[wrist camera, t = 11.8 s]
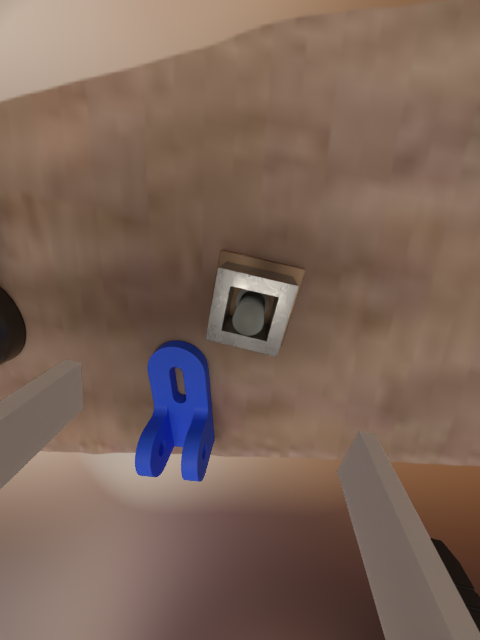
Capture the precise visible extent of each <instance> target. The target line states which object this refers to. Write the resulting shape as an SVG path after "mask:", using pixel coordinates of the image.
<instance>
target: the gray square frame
mask: <svg viewBox="0 0 480 640" xmlns="http://www.w3.org/2000/svg"><path fill="white" fill-rule="evenodd" d="M234 287H237V288H242V289H246V290H250V291H254V292H258V293H263V294H267V295H271V296H275V297H274V301H273V305H272V308H271V312H270V316H269V319H268V323H267V324H263V327H262V329H261V330H260V331H259V332H258V333H257V334H255V335H251V336H246V335H242V334H240V333H239V332H238V331H237V330H236V329H235V328H234V326H233V316H231V315H229V311H230V306H231V301H232V297H233V292H234ZM297 290H298V284H297V282H296V281H295V279H294V277H292V276H288V275H283V274H279V273H275V272H271V271H266V270H262V269H258V268H253V267H249V266H245V265H241V264H236V263H232V262H228V261H226V262H225V263H224V264H222V265H221V266H220V267H218V271H217V277H216V283H215V289H214V294H213V300H212V306H211V311H210V317H209V323H208V329H207V334H206V340H210V341H214V342H218V343H222V344H226V345H231V346H235V347H239V348H243V349H247V350H251V351H255V352H259V353H263V354H267V355H271V356H275V357H277V354H278V351H279V348H280V344H281V341H282V338H283V335H284V332H285V328H286V325H287V322H288V319H289V315H290V312H291V309H292V306H293V302H294V299H295V296H296V293H297Z"/></svg>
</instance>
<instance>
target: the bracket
mask: <svg viewBox="0 0 480 640" xmlns="http://www.w3.org/2000/svg"><path fill="white" fill-rule="evenodd" d="M174 367H178V368H180V369H181V370H182V371H183V376H184V383H185V391H186V395H182V394H180V393H179V392H178V389H177V383H176V376H175V369H174ZM148 374H149V379H150V384H151V390H152V395H153V400H154V412H153V415H152V417H151V419H150V420H149V422H148V424H147V425H146V427H145V428H144V430H143V432H142V434H141V436H140V439H139V442H138V445H137V449H136V456H135V467H136V471H137V473H138V475H141V476H150V477H158V476H159V475H160V474H161V473H162V471H163V470H164V467H165V466H166V463H167V461H168V459H169V456H170V454H171V452H172V450H173V448H174V446H179V447H183V451H182V460H181V471H182V477H183V479H184V480H190V481H202V480H203V478H204V475H205V473H206V468H207V465H208V461H209V458H210V454H211V450H212V446H213V443H214V429H213V417H212V405H211V394H210V382H209V370H208V363H207V360H206V358H205V356H204V355H203V353H202V352H201V351H200V350H199V349H198V348H197V347H195V346H194V345H192V344H190V343H187V342H184V341H170V342H167V343H165V344H163V345H162V346H160V347H159V348H158V349H157V351H156V352H155V353H154V354H153V355H152V356H151V358H150V360H149V362H148Z"/></svg>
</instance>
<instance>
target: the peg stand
mask: <svg viewBox="0 0 480 640" xmlns="http://www.w3.org/2000/svg"><path fill="white" fill-rule="evenodd" d="M226 261H228V262H232V263H236V264H241V265H245V266H249V267H253V268H258V269H262V270H266V271H271V272H275V273H279V274H283V275H288V276H292V277H294V279H295V281H296V282H297V284H298V290H297V293H296V296H295V299H294V302H293V306H292V309H291V312H290V315H289V319H288V322H287V325H286V328H285V332H284V335H283V338H282V341H281V344H280V346H282V343H283V340H284V337H285V334H286V330H287V327H288V324H289V321H290V318H291V314H292V311H293V308H294V305H295V302H296V299H297V295H298V292H299V289H300V286H301V283H302V279H303V276H304V273H305V269H303V268H299V267H295V266H290V265H286V264H282V263H278V262H273V261H269V260H265V259H260V258H256V257H252V256H247V255H243V254H239V253H235V252H230V251H226V250H221V251H220V257H219V262H218V267H220V266H221V265H222V264H224V263H225V262H226ZM217 271H218V268H217ZM216 277H217V274H216ZM215 283H216V280H215ZM214 289H215V285H214ZM213 294H214V291H213ZM274 297H275V296H271V295H267V294H263V293H258V292H254V291H250V290H246V289H242V288H237V287H234V292H233V297H232V301H231V306H230V311H229V315H231V316H233V326H234V328H235V329H236V330H237V331H238V332H239V333H240V334H242V335H246V336H251V335H255V334H257V333H258V332H259V331H260V330H261V329H262V327H263V324H267V323H268V319H269V316H270V312H271V308H272V305H273V301H274ZM212 300H213V297H212ZM211 306H212V302H211ZM210 311H211V308H210ZM209 317H210V314H209ZM208 323H209V320H208ZM207 328H208V325H207Z"/></svg>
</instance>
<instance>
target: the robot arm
mask: <svg viewBox="0 0 480 640" xmlns="http://www.w3.org/2000/svg"><path fill="white" fill-rule="evenodd" d="M24 341H25V329H24V324H23V321H22V318H21V316H20V314H19V311H18V310H17V308H16V306H15V305H14V303H13V302H12V300H11V299H10V298H9V296H8V295H7V294H6V293H5V292H4V291H3V290H2V289H1V288H0V364H2V363H4V362H6V361H8V360H10V359H12V358H14V357H15V356H17V355H18V354H19V353H20V351H21V350H22V348H23V345H24ZM83 409H84V405H83V386H82V366H81V363H80V362H76V361H72V360H68V359H65V360H63V361H62V362H60V363H59V364H57V365H56V366H54V367H52V368H51V369H49V370H48V371H46V372H45V373H43V374H42V375H40V376H38V377H37V378H35V379H34V380H32V381H31V382H29V383H27V384H26V385H24V386H23V387H21V388H20V389H18V390H17V391H15V392H13V393H12V394H10V395H9V396H7V397H6V398H4V399H2V400H1V401H0V489H1V488H2V487H3V486H4V485H5V484H6V483H7V482H8V481H9V480H10V479H11V478H12V477H13V476H14V475H16V473H18V471H20V470H21V469H22V468H23V467H24V466H25V465H26V464H27V463H28V462H29V461H30V460H31V459H32V458H33V457H34V456H35V455H36V454H37V453H38V452H39V451H40V450H41V449H42V448H43V447H44V446H45V445H46V444H47V443H48V442H50V441H51V440H52V439H53V438H54V437H55V436H56V435H57V434H58V433H59V432H60V431H61V430H62V429H63V428H64V427H65V426H66V425H67V424H68V423H69V422H70V421H71V420H72V419H73V418H74V417H75V416H76V415H77V414H78V413H79V412H80V411H81V410H83ZM338 476H339V478H340V482H341V486H342V489H343V493H344V496H345V500H346V503H347V507H348V510H349V514H350V517H351V521H352V524H353V528H354V531H355V535H356V538H357V542H358V545H359V548H360V552H361V556H362V559H363V562H364V566H365V570H366V573H367V576H368V580H369V584H370V587H371V591H372V594H373V597H374V601H375V604H376V608H377V611H378V615H379V618H380V622H381V625H382V629H383V632H384V636H385V639H386V640H480V597H479V596H478V594H477V593H475V591H474V587H473V585H472V583H471V582H470V580H469V578H468V576H467V575H466V573H465V571H464V570H463V568H462V566H461V564H460V563H459V562H458V560H457V559H456V558H455V557H454V555H453V554H452V553H451V552H450V551H449V549H448V548H447V547H446V546H445V544H444V543H443V542H442V541H440V540H435V539H432V538H430V537H429V535H428V533H427V531H426V529H425V528H424V526H423V524H422V522H421V520H420V518H419V516H418V514H417V512H416V511H415V508H414V507H413V505H412V503H411V501H410V499H409V497H408V495H407V493H406V492H405V489H404V488H403V486H402V484H401V482H400V480H399V478H398V476H397V474H396V472H395V471H394V469H393V467H392V465H391V463H390V461H389V459H388V457H387V455H386V453H385V451H384V449H383V448H382V446H381V444H380V442H379V440H378V438H377V436H376V435H375V434H371V433H367V432H363V431H358V433H357V435H356V437H355V439H354V441H353V443H352V445H351V447H350V448H349V450H348V452H347V454H346V456H345V458H344V460H343V462H342V464H341V466H340V468H339V470H338Z"/></svg>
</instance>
